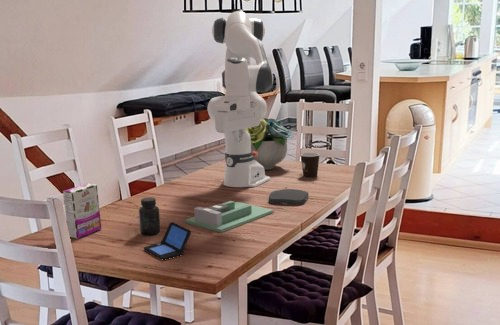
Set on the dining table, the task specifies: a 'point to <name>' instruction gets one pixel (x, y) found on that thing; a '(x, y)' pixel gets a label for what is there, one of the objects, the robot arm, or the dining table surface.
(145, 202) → the supplement bottle
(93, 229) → the candy bar box
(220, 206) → the labelled grey storage bin
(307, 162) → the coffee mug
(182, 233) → the handheld game console
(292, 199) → the media streaming box
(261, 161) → the flower arrangement
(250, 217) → the board
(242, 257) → the dining table surface
